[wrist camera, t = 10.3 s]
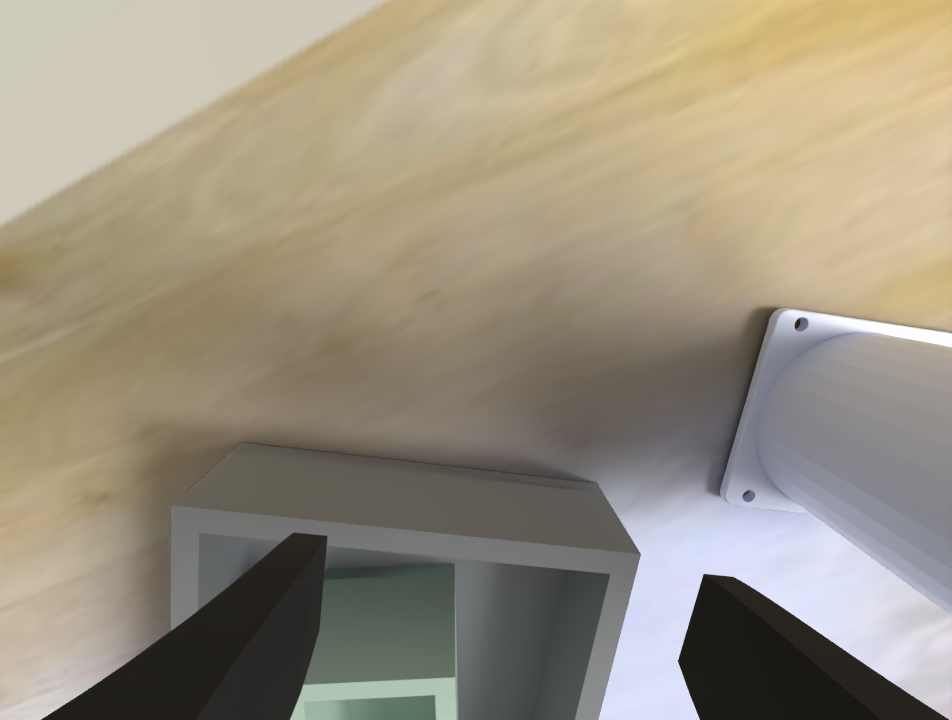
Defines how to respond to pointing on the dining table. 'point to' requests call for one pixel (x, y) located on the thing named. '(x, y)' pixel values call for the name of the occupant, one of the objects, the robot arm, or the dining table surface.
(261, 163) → the dining table surface
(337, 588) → the box
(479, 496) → the tray
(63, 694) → the dining table surface
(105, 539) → the dining table surface
